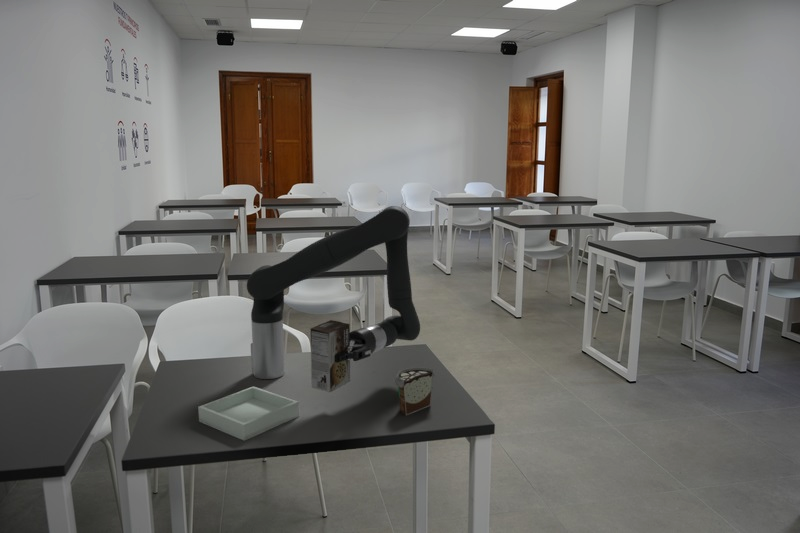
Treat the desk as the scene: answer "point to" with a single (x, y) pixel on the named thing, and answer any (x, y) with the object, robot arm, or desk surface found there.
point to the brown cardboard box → (329, 355)
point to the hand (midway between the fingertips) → (324, 355)
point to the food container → (414, 389)
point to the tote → (248, 412)
